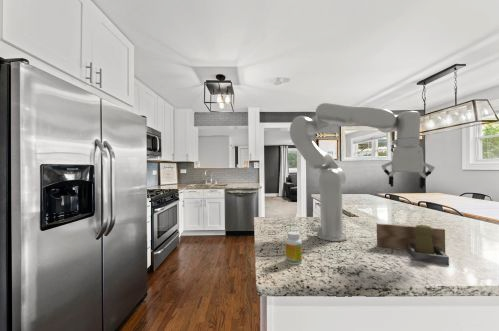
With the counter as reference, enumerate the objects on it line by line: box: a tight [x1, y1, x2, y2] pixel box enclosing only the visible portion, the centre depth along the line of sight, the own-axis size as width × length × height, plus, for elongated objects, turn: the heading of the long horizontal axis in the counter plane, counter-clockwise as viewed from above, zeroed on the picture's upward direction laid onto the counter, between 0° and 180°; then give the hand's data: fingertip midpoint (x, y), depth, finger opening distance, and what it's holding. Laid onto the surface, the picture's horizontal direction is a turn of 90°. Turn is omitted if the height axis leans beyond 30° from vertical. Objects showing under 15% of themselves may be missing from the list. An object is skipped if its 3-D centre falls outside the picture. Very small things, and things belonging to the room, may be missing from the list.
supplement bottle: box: [285, 231, 303, 266], centre depth 80 cm, size 5×5×10 cm
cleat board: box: [376, 222, 450, 266], centre depth 86 cm, size 22×13×9 cm, turn 66°
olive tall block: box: [415, 224, 435, 255], centre depth 85 cm, size 6×6×11 cm
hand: (406, 187), depth 93 cm, fingers open, 9 cm apart
